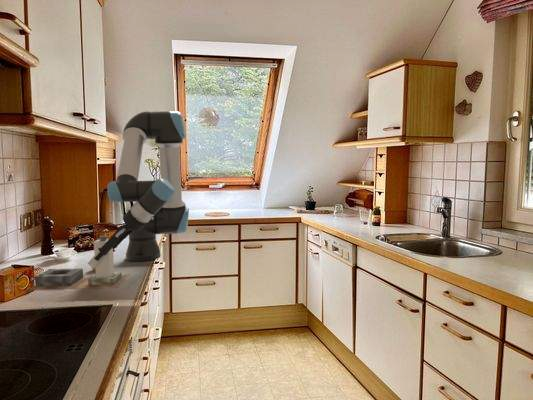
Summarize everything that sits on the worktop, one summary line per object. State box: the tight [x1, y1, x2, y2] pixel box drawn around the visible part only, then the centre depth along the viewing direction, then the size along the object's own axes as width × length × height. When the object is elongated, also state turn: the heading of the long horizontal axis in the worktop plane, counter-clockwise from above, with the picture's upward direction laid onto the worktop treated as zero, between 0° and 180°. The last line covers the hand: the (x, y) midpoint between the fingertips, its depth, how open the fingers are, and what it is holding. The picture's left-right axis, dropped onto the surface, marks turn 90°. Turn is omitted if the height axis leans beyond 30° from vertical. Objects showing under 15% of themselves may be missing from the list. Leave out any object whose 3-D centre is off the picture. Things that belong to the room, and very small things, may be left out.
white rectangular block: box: [93, 235, 115, 278], centre depth 147 cm, size 5×4×14 cm
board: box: [27, 267, 133, 294], centre depth 148 cm, size 30×16×5 cm, turn 90°
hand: (93, 263), depth 147 cm, fingers closed on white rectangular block, 4 cm apart
